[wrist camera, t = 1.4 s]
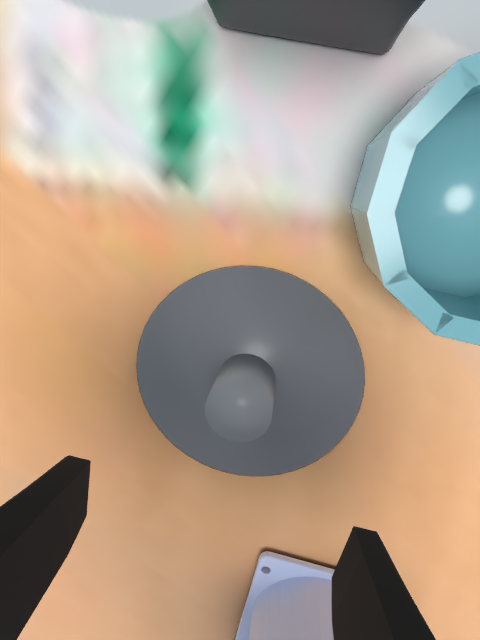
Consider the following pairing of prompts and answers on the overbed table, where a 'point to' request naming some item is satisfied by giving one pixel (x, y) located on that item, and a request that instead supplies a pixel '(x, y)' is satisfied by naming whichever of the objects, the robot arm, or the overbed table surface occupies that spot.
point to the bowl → (428, 204)
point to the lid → (250, 371)
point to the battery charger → (321, 20)
